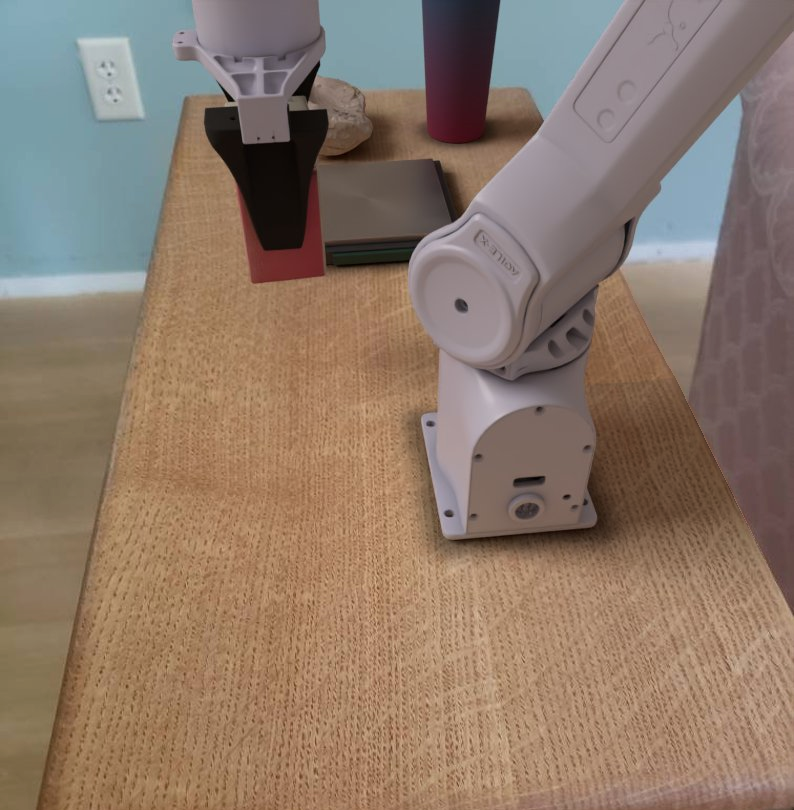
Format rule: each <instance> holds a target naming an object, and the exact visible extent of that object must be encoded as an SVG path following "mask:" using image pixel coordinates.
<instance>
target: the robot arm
mask: <svg viewBox="0 0 794 810" xmlns="http://www.w3.org/2000/svg"><path fill="white" fill-rule="evenodd" d="M190 2H191V6H192V11H193V18H194V25H195V28H192V29H182V30H178V31H176V32H175V33H174V34H173V37H172V43H171V45H172V50H173V55H174V56H173V57H174V58H175V60H177V61H181V62H190V61H196V62H198V63H200V64H201V66H202V67H203V68H205V69H206V71H207V72H208V73H209V74H210V75H211V76H212V78H214V80H215V81H216V83H217V84H218V87H219V88H220V90H222V93H223V95H224V97H225V99H226V100H227V102H236V103H237V105H238V106H231V107H225V106H215V107H205V108H204V115H203V126H204V131H205V135H206V137H207V140H208V142H209V143H210V145H211V146H210V147H212V149H213V150H214V151H215V152H216V154H217V155H218V156H219V158H221V160H222V161H223V163H224V164H225V166H226V167H227V168H228V170H229V172H230V173H231V175H232V178H233V179H234V182H235V181H236V183H237V185H238V187H239V189H240V192H241V194H242V196H243V199H244V202H245V205H246V207H247V210H248V213H249V216H250V219H251V222H252V225H253V227H254V230H255V233H256V235H257V238H258V240H259V242H260V244H261V246H262V248H263V250H265V251H272V250H287V249H300V248H302V245H303V241H304V236H305V230H306V221H307V209H308V197H309V188H310V182H311V177H312V172H313V169H314V165H315V162H316V159H317V156H318V157H319V155H318V154H319V151H320V149H321V147H322V145H323V143H324V141H325V138H326V135H327V131H328V127H329V120H328V113H327V109H316V110H298V111H290V109H289V104H288V101H289V99H290V98H291V96H305V97H306V101H307V104H308V101H309V97H310V93H311V90H312V86H313V83H314V81H315V78H316V75H318V73H319V70H320V67H321V59H322V58H323V56H324V55H325V53H326V50H327V41H326V30H325V29H324V27H323V25H321V18H320V1H319V0H191V1H190ZM793 33H794V0H624V1H623V2H622V4H621V5H620V7H619V8H618V10H617V11H616V13H615V14H614V15H613V17H612V19H611V20H610V21H609V23H608V24H607V26H606V28H605V29H604V31H603V32H602V33H601V35H600V36H599V38H598V39H597V41H596V42H595V44H594V46H592V49H591V50H590V52H589V53H588V55H587V56H586V57H585V59H584V61H583V62H582V64H581V65H580V66H579V68H578V69H577V71H576V73H575V74H574V76H573V77H572V79H571V80H570V82H569V83H568V85H567V87H566V88H565V90H564V91H563V92H562V94H561V96H560V97H559V98H558V100H557V102H556V103H555V105H554V106H553V107H552V109H551V111H550V112H549V114H548V115H547V117H546V118H545V120H544V121H543V123H542V124H541V126H540V127H539V129H538V130H537V132H536V133H535V134H534V135H533V136H532V137H531V138H530V139H529V140H528V141H527V142H526V143H525V144H524V146H522V147H521V148H520V150H518V152H517V153H516V154H515V155H514V156H512V157H511V159H510V160H508V161H507V163H506V164H505V165H504V166H503V167H502V168H501V169H500V170H499V171H498V172H497V173H495V175H494V176H493V177H492V178H491V179H490V180H489V181H488V182H487V183H486V184H485V185H484V186H483V187H482V188H481V189H480V191H478V193H477V194H476V195H474V197H473V199H472V200H471V202H470V204H469V205H468V207H467V208H466V210H465V211H464V212H463V214H462V215H461V216H460V217H459V218H458V220H456V221H455V222H453V223H452V224H449V225H446V226H444V227H442V228H440V229H438V230H436V231H434V232H432V233H430V234H429V235H427V236H426V237H424V238H423V239H422V241H421V242H420V243H419V244H418V245H417V247H416V248H415V250H414V252H413V254H412V256H411V259H410V260H409V263H408V269H407V285H408V286H407V288H408V294H409V298H410V302H411V305H412V308H413V311H414V313H415V315H416V318H417V320H418V321H419V323H420V325H421V327H422V328H423V330H424V331H425V333H426V334H427V335H428V336H429V338H430V339H431V340H432V341H433V345H434V346H435V347H436V348H438V349H439V351H438V352H439V353H438V386H437V411H435V412H433V411H432V412H426V413H424V414H422V416H421V418H420V424H421V430H422V435H423V441H424V446H425V451H426V456H427V460H428V468H429V471H430V477H431V481H432V482H431V483H432V486H433V492H434V496H435V497H434V498H435V503H436V507H437V512H438V517H439V523H440V528H441V533H442V535H443V537H444V538H445V539H447V540H452V541H453V540H465V539H477V538H489V537H499V536H500V537H501V536H510V535H511V536H512V535H521V534H533V533H545V532H556V531H557V532H558V531H568V530H579V529H589V528H590V529H591V528H592V527H595V526H596V524H597V521H598V515H597V512H596V509H595V506H594V503H593V500H592V498H591V495H590V492H589V490H588V489H589V488H588V484H589V479H590V475H591V469H592V465H593V461H594V455H595V452H596V448H597V430H596V426H595V423H594V420H593V417H592V415H591V412H590V408H589V405H588V401H587V395H586V385H585V382H586V374H587V373H586V372H587V367H588V362H589V358H590V352H591V346H592V342H593V335H594V330H595V324H596V304H597V299H598V293H599V290H600V284H599V283H601V282H603V281H605V280H607V279H608V278H610V277H612V276H613V275H614V274H615V273H616V272H617V271H618V270H619V269H620V268H621V267H622V266H623V265H624V263H625V262H626V260H627V259H628V256H629V255H630V252H631V250H632V247H633V243H634V239H635V234H636V230H637V226H638V223H639V221H640V219H641V217H642V215H643V213H644V212H645V210H647V208H648V207H649V205H650V204H651V203H652V202H653V200H654V199H655V198H656V197H657V196H658V195H659V194H660V193H661V191H662V183H661V182H662V181H663V180H664V179H665V177H666V176H667V175H668V174H670V171H672V170H673V168H674V167H675V166H676V165H677V164H678V162H679V161H680V160H681V159H682V158H683V157H684V156H685V155H686V153H687V152H688V151H689V150H691V148H692V147H693V145H694V144H695V143H696V142H697V141H698V140H699V139H700V138H701V137H702V136H703V134H704V133H706V131H707V130H708V129H709V127H710V126H712V124H713V123H714V122H715V121H716V120H717V118H718V117H720V115H721V114H722V113H723V112H724V111H725V109H726V108H727V107H728V106H729V105H730V104H731V103H732V101H734V99H735V98H736V97H738V95H739V94H740V93H741V91H742V90H744V88H745V87H746V86H747V85H748V84H749V82H751V80H752V79H753V78H754V77H755V76H756V74H757V73H758V72H759V71H760V70H761V68H763V67H764V65H765V64H766V63H767V62H768V61H769V60H770V59H771V58H772V56H773V55H775V53H776V52H777V51H778V50H779V49H780V47H781V46H782V45H783V44H784V43H785V42H786V41H787V39H788V38H789V37H790V36H791V35H792V34H793Z"/></svg>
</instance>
